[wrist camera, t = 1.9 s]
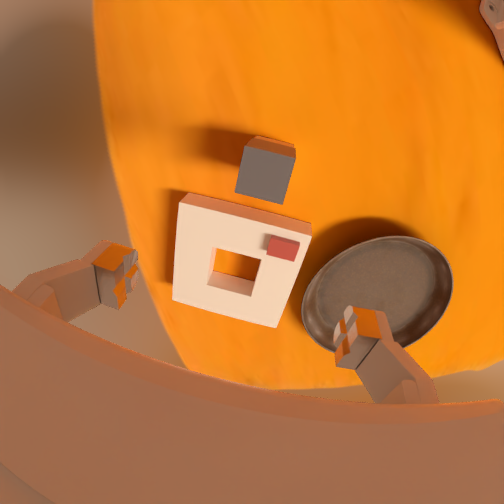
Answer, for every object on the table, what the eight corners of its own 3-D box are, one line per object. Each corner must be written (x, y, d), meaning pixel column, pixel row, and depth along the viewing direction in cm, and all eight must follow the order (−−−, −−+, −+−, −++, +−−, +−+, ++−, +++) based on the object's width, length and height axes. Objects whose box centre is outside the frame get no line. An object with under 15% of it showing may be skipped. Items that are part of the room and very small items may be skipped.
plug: (256, 134, 26) (244, 145, 20) (295, 144, 26) (295, 158, 20) (248, 170, 28) (234, 192, 22) (285, 180, 28) (282, 204, 22)
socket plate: (188, 192, 30) (176, 205, 27) (310, 223, 30) (312, 240, 27) (179, 286, 38) (170, 303, 35) (277, 312, 38) (275, 332, 35)
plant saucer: (395, 352, 40) (398, 367, 37) (280, 326, 40) (278, 343, 37) (468, 253, 29) (479, 267, 26) (339, 197, 29) (344, 209, 26)
